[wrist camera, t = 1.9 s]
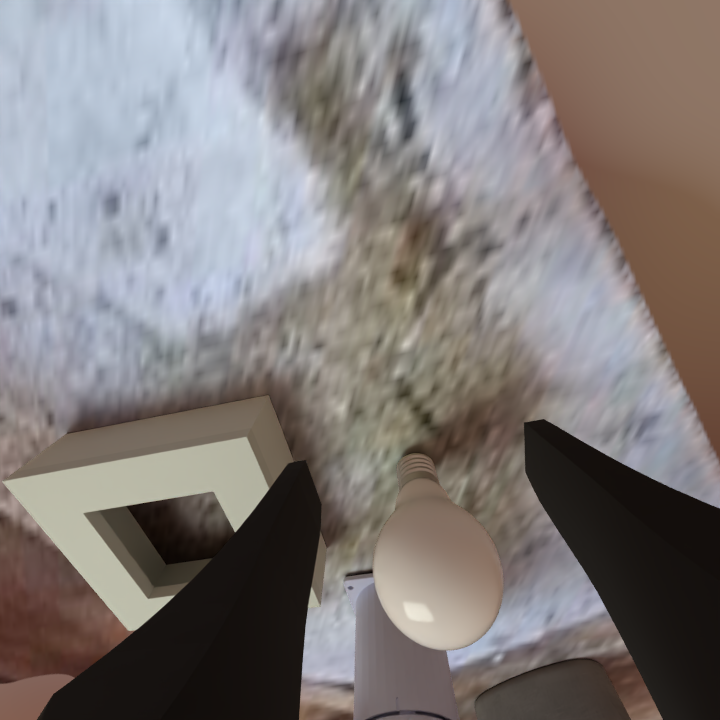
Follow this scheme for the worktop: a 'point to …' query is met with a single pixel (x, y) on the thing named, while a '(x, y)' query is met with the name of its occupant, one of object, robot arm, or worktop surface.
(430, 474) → the lightbulb
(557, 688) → the flask
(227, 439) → the square bulb holder
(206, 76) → the worktop surface
